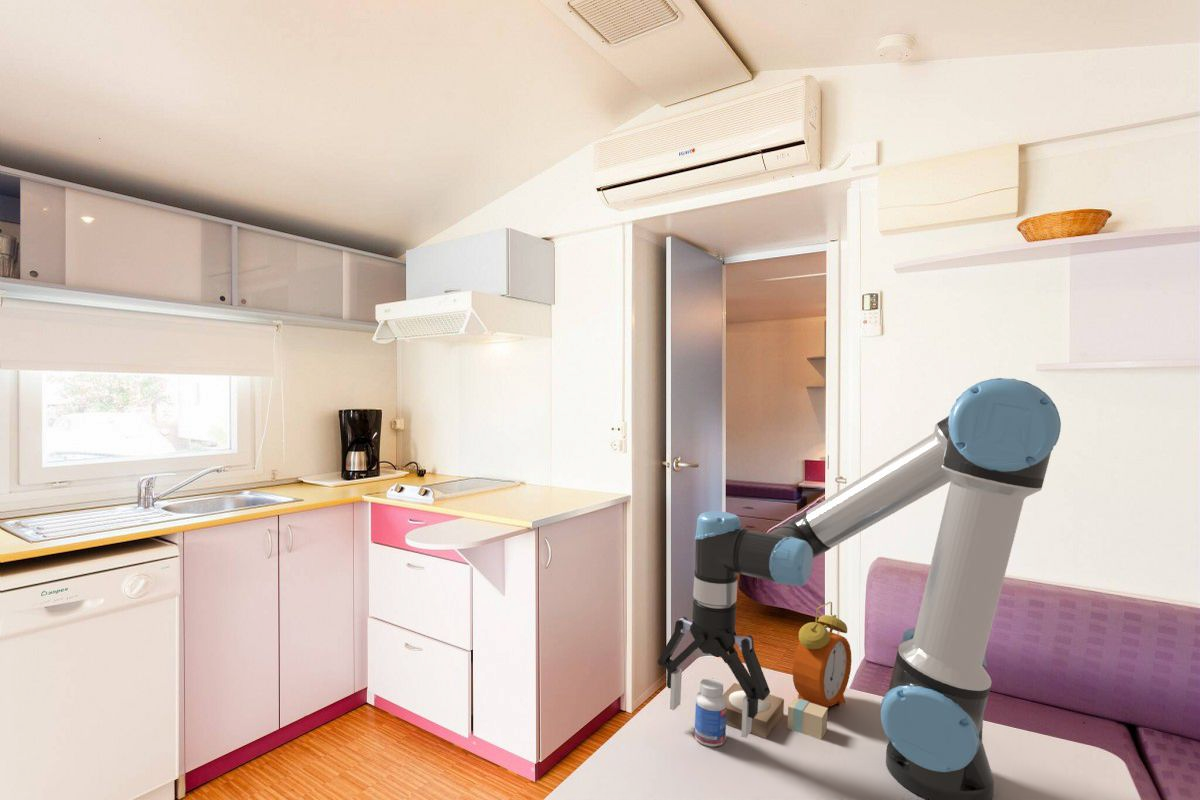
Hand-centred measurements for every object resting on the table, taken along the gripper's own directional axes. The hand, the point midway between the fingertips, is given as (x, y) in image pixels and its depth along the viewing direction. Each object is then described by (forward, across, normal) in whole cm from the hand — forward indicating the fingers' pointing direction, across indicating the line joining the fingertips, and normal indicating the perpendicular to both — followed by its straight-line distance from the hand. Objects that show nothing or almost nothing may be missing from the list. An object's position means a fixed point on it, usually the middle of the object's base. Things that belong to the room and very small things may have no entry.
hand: (709, 719), depth 105 cm
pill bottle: (+3, 0, 0) cm, 3 cm away
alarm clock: (+3, -13, -24) cm, 28 cm away
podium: (+3, -3, -11) cm, 12 cm away
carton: (+3, -13, -14) cm, 20 cm away
